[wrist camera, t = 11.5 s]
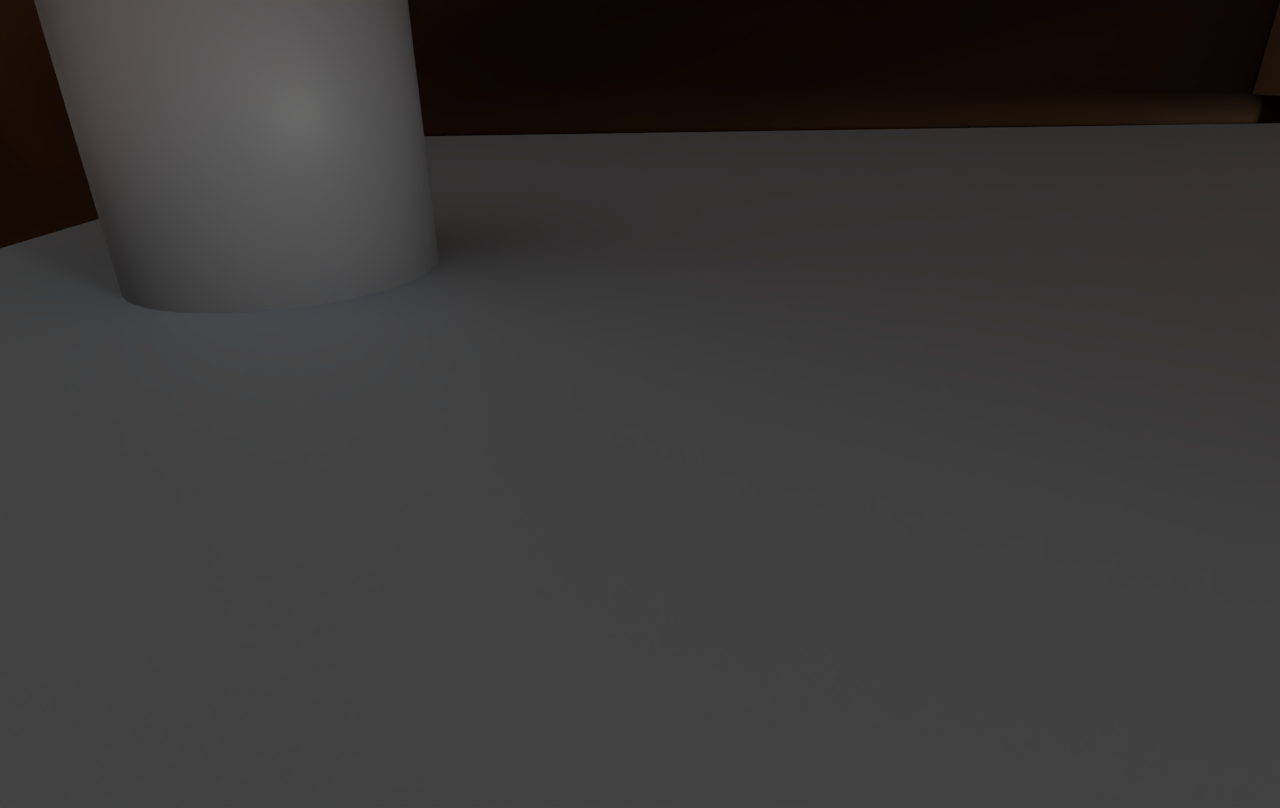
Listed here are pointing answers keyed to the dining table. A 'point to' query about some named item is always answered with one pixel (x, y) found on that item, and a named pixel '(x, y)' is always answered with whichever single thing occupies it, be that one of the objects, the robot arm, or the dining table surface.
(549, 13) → the dining table surface
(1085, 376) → the door
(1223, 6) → the dining table surface
